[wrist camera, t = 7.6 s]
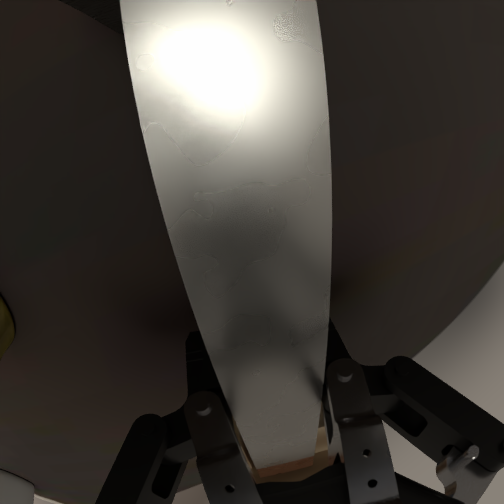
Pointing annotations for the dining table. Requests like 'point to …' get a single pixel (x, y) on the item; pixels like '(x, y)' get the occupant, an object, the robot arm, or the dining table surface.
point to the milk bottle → (15, 489)
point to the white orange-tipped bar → (245, 198)
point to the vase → (5, 328)
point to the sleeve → (100, 11)
